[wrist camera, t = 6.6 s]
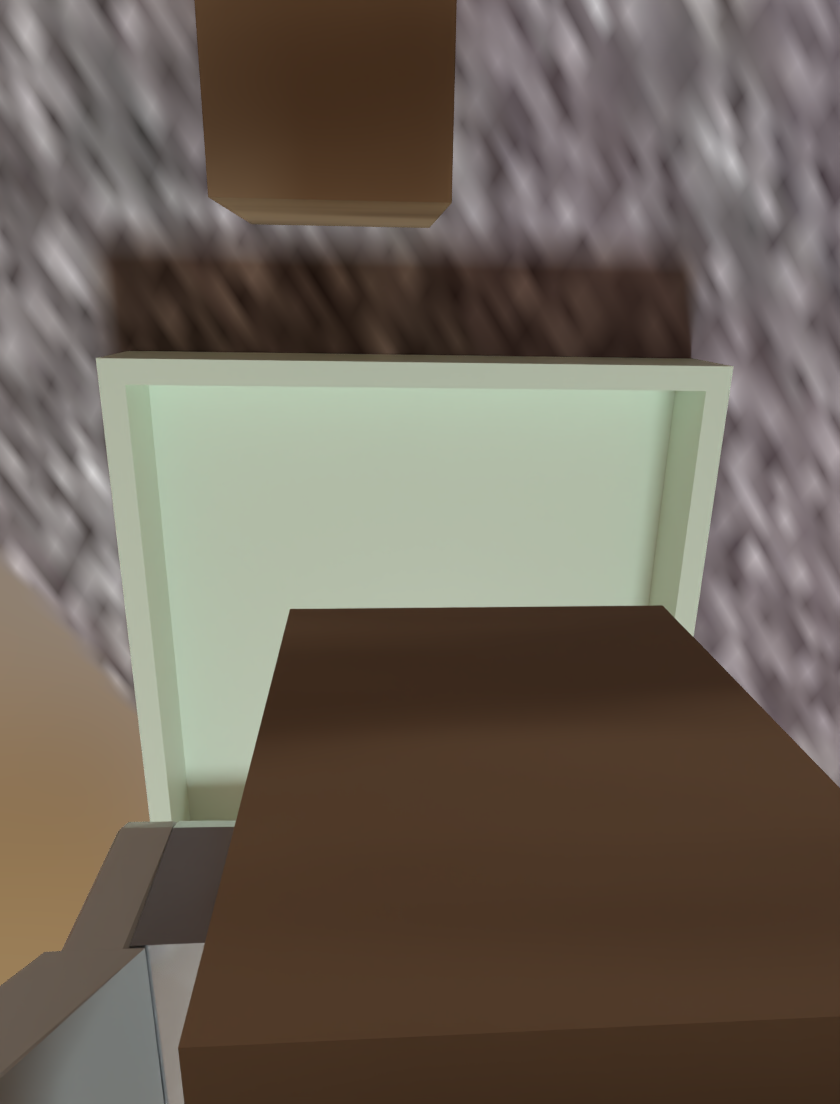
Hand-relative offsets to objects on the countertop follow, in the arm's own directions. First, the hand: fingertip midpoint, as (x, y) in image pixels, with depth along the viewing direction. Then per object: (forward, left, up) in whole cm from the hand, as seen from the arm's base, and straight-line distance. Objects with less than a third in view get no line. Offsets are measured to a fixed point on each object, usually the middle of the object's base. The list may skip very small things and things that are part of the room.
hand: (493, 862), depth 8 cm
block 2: (0, 0, -2) cm, 2 cm away
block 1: (-10, -2, -15) cm, 17 cm away
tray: (+3, 0, -14) cm, 15 cm away
